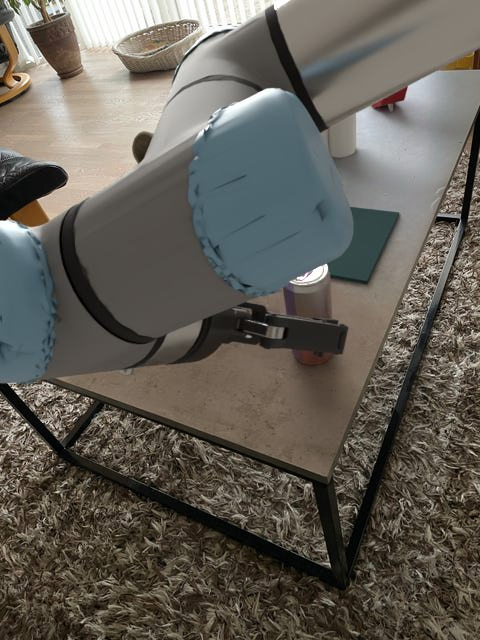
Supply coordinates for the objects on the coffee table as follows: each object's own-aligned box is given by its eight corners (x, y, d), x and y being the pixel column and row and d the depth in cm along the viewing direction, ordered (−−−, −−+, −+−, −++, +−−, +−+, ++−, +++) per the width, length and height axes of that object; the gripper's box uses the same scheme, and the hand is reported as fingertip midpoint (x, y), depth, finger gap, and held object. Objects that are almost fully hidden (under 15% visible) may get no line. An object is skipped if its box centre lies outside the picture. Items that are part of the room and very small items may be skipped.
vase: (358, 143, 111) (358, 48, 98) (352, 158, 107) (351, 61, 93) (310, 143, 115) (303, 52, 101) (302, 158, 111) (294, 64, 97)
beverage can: (284, 358, 69) (271, 278, 59) (305, 331, 73) (296, 250, 62) (321, 373, 66) (314, 291, 56) (341, 344, 70) (338, 261, 59)
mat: (399, 214, 89) (399, 212, 89) (367, 284, 78) (367, 281, 77) (289, 202, 99) (288, 199, 98) (245, 262, 87) (244, 259, 87)
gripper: (31, 326, 40) (174, 327, 59) (317, 414, 29) (379, 381, 49) (46, 236, 40) (185, 266, 59) (343, 293, 29) (395, 307, 48)
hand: (273, 318), depth 54 cm, fingers open, 13 cm apart
